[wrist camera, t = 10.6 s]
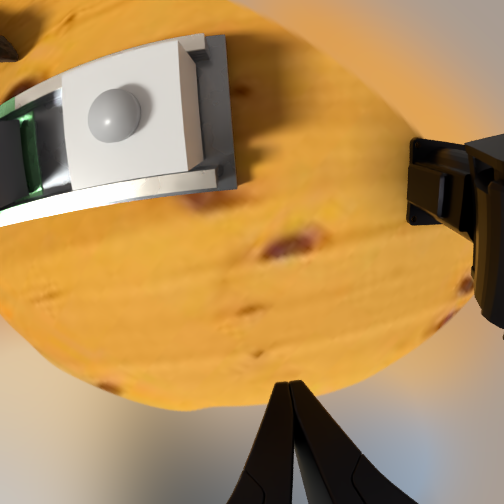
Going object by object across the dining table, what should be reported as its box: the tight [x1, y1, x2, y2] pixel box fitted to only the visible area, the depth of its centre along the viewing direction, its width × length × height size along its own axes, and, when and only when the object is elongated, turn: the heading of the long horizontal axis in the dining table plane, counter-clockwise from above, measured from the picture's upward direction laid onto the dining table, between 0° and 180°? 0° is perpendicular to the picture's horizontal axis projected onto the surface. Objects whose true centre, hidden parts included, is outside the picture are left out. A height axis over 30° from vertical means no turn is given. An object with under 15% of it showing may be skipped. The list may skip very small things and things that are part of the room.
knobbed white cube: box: [62, 40, 204, 191], centre depth 12 cm, size 6×6×5 cm
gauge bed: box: [0, 33, 237, 227], centre depth 13 cm, size 24×10×6 cm, turn 94°
